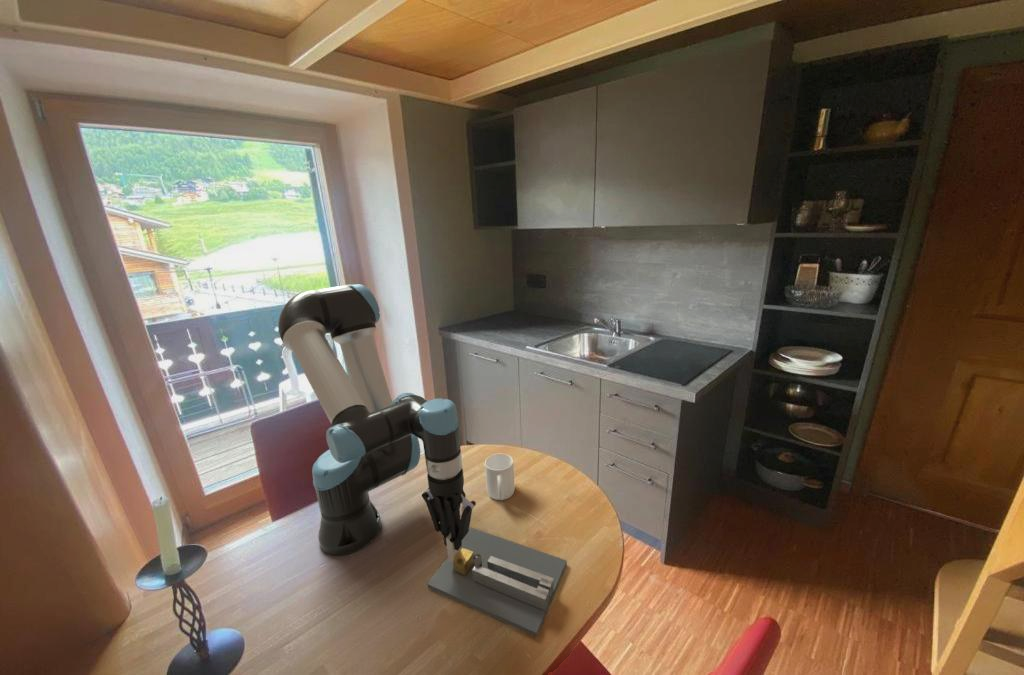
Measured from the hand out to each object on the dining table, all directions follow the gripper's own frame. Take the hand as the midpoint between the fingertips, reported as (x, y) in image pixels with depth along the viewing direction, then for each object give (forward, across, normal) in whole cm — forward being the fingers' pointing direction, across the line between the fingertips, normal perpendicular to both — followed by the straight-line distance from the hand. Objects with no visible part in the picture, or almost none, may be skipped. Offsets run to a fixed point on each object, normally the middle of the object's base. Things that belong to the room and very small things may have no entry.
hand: (454, 557), depth 90 cm
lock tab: (+1, +3, 0) cm, 3 cm away
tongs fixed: (+2, +14, -1) cm, 15 cm away
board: (+3, +10, +2) cm, 11 cm away
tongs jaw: (+1, +16, +1) cm, 16 cm away
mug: (+3, -2, +26) cm, 26 cm away
